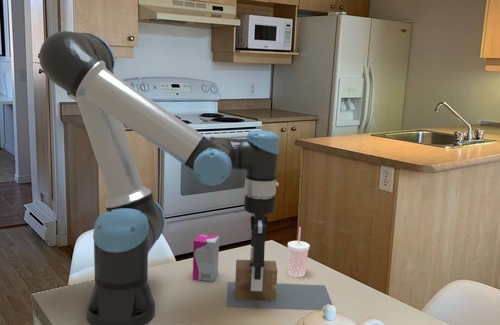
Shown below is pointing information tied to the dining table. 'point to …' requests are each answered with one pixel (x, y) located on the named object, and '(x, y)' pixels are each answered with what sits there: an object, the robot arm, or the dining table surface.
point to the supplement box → (205, 258)
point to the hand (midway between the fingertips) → (255, 280)
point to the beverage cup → (297, 257)
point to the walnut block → (244, 281)
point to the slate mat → (285, 298)
